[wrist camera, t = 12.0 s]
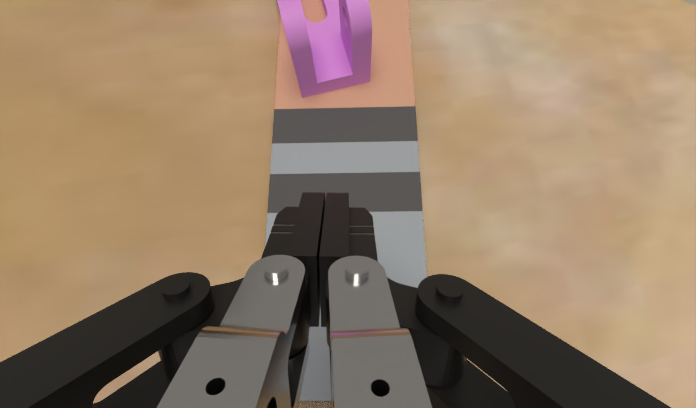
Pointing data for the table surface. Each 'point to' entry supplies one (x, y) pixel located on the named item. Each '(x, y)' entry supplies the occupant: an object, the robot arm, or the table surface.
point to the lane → (354, 156)
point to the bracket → (329, 45)
